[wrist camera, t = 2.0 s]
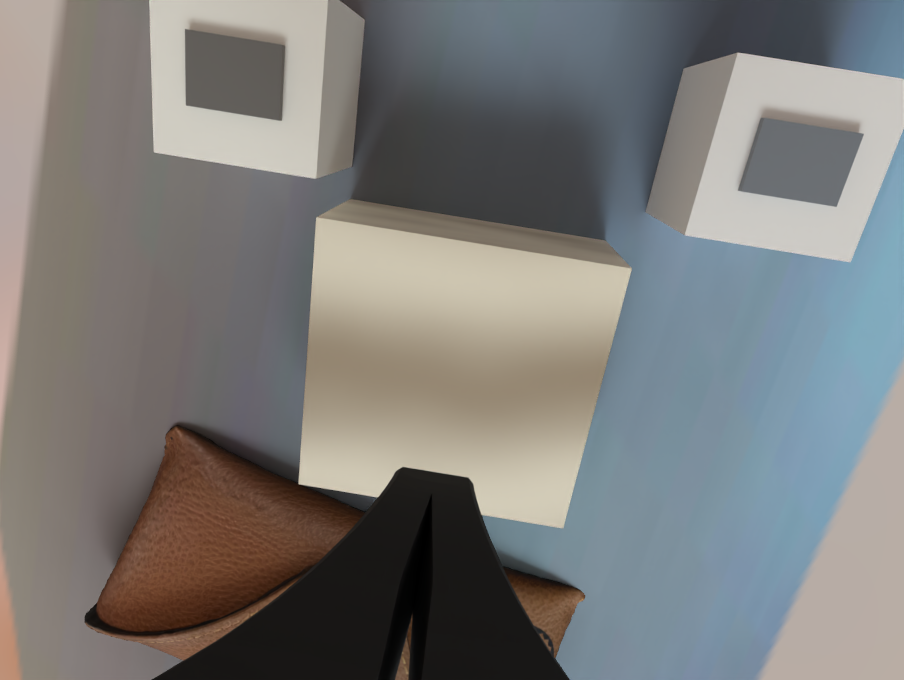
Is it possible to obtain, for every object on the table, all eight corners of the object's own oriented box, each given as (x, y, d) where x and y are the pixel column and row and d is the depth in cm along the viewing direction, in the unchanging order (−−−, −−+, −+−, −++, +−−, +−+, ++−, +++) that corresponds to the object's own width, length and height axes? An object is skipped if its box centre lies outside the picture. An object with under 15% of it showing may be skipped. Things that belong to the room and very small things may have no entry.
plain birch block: (550, 456, 21) (563, 528, 18) (332, 420, 21) (298, 484, 18) (603, 238, 18) (631, 268, 15) (352, 198, 19) (316, 217, 15)
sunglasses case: (604, 589, 23) (584, 801, 18) (531, 622, 28) (502, 793, 24) (158, 412, 21) (27, 599, 17) (172, 484, 27) (75, 638, 23)
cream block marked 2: (352, 166, 18) (313, 179, 14) (223, 145, 18) (149, 152, 14) (365, 20, 17) (326, -11, 13) (225, -3, 17) (142, -40, 13)
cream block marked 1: (776, 233, 18) (855, 264, 14) (644, 212, 18) (687, 236, 14) (824, 91, 16) (928, 81, 12) (682, 69, 16) (741, 51, 13)
